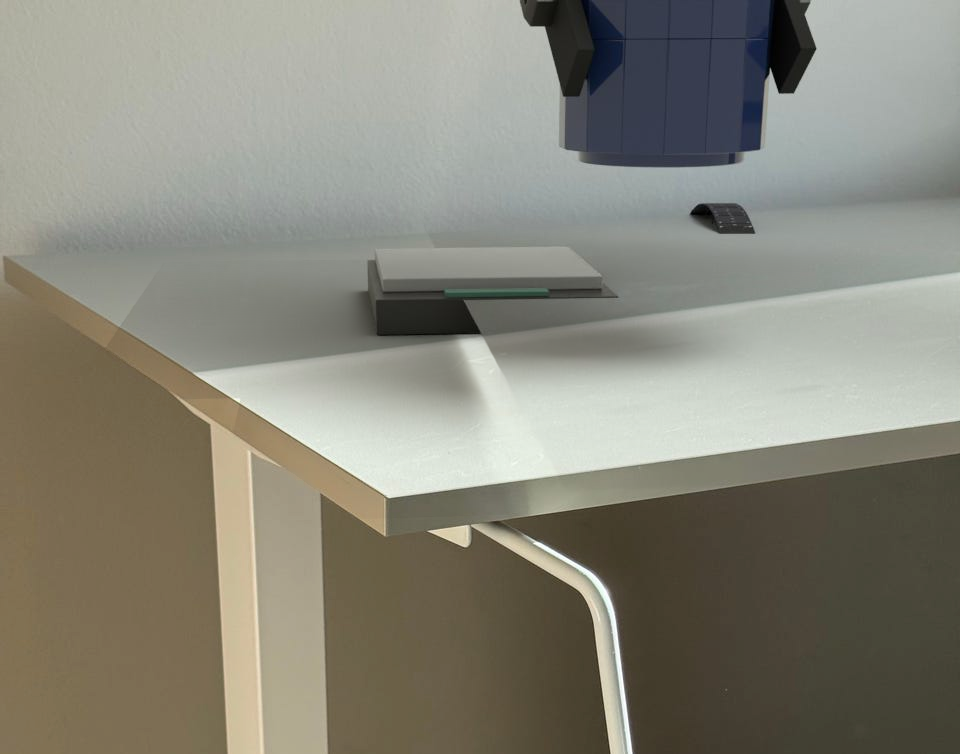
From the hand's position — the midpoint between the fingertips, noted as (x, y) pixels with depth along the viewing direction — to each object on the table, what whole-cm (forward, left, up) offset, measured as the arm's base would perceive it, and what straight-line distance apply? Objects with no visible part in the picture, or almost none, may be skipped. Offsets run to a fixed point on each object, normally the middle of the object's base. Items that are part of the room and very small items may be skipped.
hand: (690, 72), depth 65 cm
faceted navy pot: (+1, -3, -4) cm, 5 cm away
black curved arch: (-15, -52, -15) cm, 56 cm away
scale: (+7, -25, -14) cm, 29 cm away
